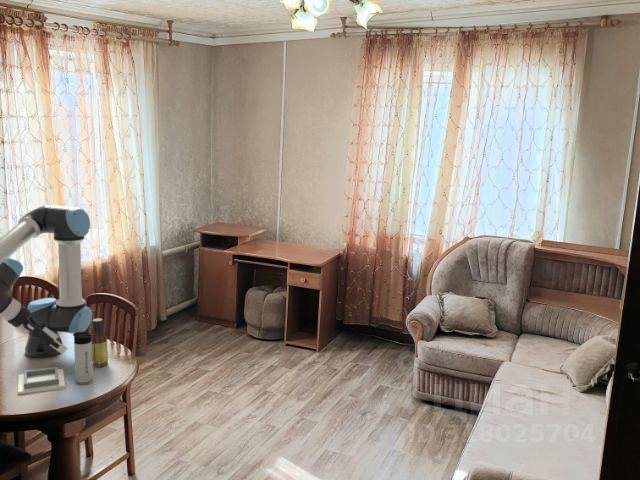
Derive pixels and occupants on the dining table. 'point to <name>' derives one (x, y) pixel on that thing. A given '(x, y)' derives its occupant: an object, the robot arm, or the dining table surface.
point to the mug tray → (40, 380)
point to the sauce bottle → (99, 344)
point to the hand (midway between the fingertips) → (60, 344)
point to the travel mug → (83, 358)
